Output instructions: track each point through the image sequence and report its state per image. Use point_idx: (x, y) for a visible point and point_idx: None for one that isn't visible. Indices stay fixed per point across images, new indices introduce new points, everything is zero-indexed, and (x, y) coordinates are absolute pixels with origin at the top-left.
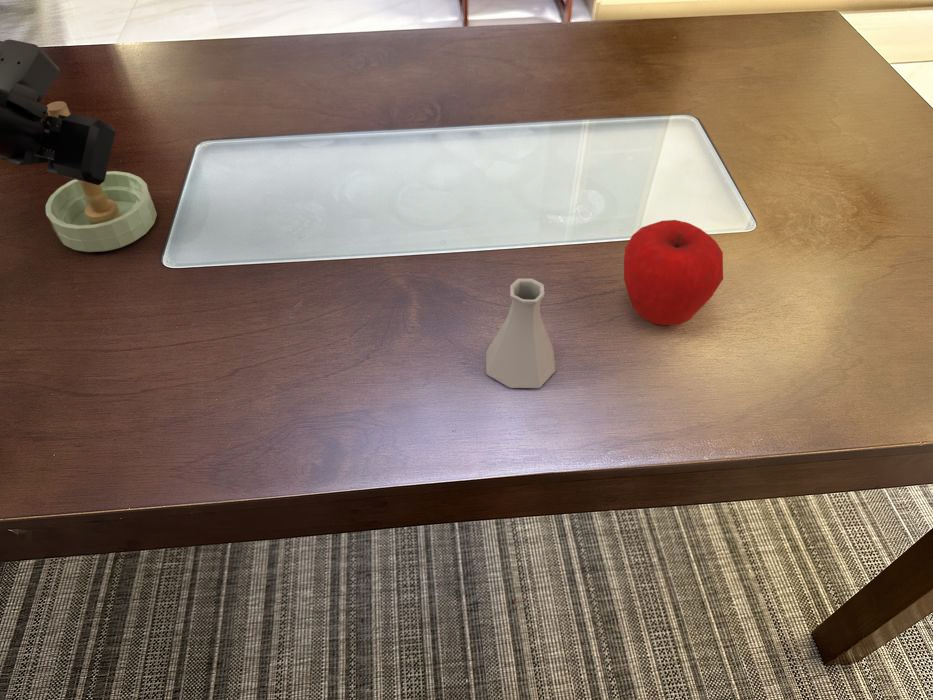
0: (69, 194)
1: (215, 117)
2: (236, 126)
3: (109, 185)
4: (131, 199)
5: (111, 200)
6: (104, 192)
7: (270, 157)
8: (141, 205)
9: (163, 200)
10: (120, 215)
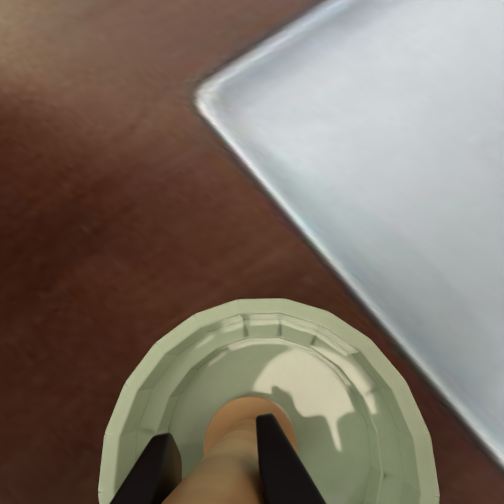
0: (128, 466)
1: (154, 26)
2: (216, 24)
3: (185, 348)
4: (254, 340)
5: (247, 399)
6: (187, 373)
7: (364, 56)
8: (417, 407)
9: (295, 284)
10: (283, 409)
